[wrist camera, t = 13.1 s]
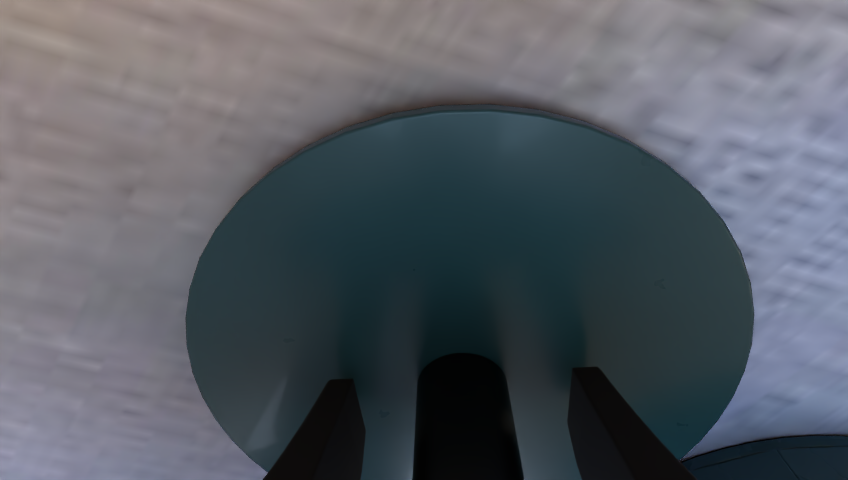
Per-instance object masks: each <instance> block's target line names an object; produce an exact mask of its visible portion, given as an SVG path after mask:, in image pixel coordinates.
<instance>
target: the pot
mask: <svg viewBox="0 0 848 480" xmlns="http://www.w3.org/2000/svg"><path fill="white" fill-rule="evenodd" d="M682 464H683V465H684V466H685V467H686V468H687V469H688V470H689V471H690V472H691V473H692V474H693V475H694V476H695V477H696V478H697V479H698V480H848V436H802V437H789V438H779V439H772V440H766V441H759V442H752V443H748V444H744V445H739V446H735V447H730V448H726V449H722V450H719V451H715V452H712V453H709V454H705V455H702V456H699V457H696V458H693V459H690V460H688V461H685V462H683V463H682Z"/></svg>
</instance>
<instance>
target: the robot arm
mask: <svg viewBox="0 0 848 480" xmlns="http://www.w3.org/2000/svg"><path fill="white" fill-rule="evenodd" d="M567 424H568V429H569V433H570V438H571V442H572V447H573V451H574V455H575V459H576V463H577V466H578V469H579V472H580V475H581V478H582V480H698V479H697V478H696V477H695V476H694V475H693V474H692V473H691V472H690V471H689V470H688V469H687V468H686V467H685V466H684V465H683V464H682V463H681V462H680V461H679V460H678V459H677V458H676V457H675V456H674V455H673V454H672V453H671V452H670V451H669V449H668V448H667V447H666V446H665V445H664V444H663V443H662V442H661V441H660V440H659V438H658V437H657V436H656V435H655V434H654V433H653V432H652V431H651V430H650V428H649V427H648V426H647V425H646V424H645V423H644V422H643V421H642V419H641V418H640V417H639V416H638V415H637V414H636V412H635V411H634V410H633V409H632V408H631V406H630V405H629V404H628V403H627V402H626V400H625V399H624V398H623V397H622V396H621V394H620V393H619V392H618V391H617V389H616V388H615V387H614V386H613V384H612V383H611V382H610V381H609V379H608V378H607V377H606V375H605V374H604V373H603V371H602V370H601V369H600V368H598V367H597V366H596V367H576V368H572V376H571V386H570V397H569V407H568V418H567ZM365 434H366V429H365V425H364V421H363V417H362V413H361V409H360V405H359V401H358V397H357V392H356V388H355V384H354V380H353V378H351V379H331V380H329V381H328V382H327V383H326V385H325V387H324V388H323V390H322V392H321V394H320V395H319V397H318V399H317V400H316V402H315V403H314V405H313V407H312V408H311V410H310V412H309V413H308V415H307V416H306V418H305V419H304V421H303V423H302V424H301V426H300V427H299V429H298V430H297V432H296V433H295V435H294V436H293V438H292V439H291V441H290V442H289V444H288V445H287V447H286V448H285V450H284V451H283V453H282V454H281V455H280V457H279V458H278V460H277V461H276V463H275V464H274V465H273V467H272V468H271V469H270V471H269V472H268V473H267V475H266V476H265V477H264V479H263V480H360V479H361V474H362V466H363V456H364V445H365Z"/></svg>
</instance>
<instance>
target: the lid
mask: <svg viewBox="0 0 848 480" xmlns="http://www.w3.org/2000/svg"><path fill="white" fill-rule="evenodd" d="M753 325H754V307H753V298H752V289H751V282H750V279H749V276H748V273H747V270H746V267H745V263H744V260H743V257H742V254H741V251H740V249H739V248H738V246H737V244H736V242H735V240H734V238H733V237H732V235H731V233H730V231H729V229H728V227H727V226H726V224H725V222H724V221H723V219H722V218H721V217H720V216H719V215H718V213H717V212H716V211H715V210H714V208H713V207H712V206H711V205H710V204H709V202H708V201H707V200H706V199H705V197H704V196H703V195H702V194H701V193H700V192H699V191H698V190H697V189H696V188H695V187H693V186H692V185H691V184H690V183H689V182H687V181H686V180H685V179H684V178H683V177H682V176H680V175H679V174H678V173H677V172H676V171H675V170H673V169H672V168H671V167H670V166H669V165H667V164H666V163H665V162H663V161H662V160H660V159H659V158H657V157H656V156H654V155H652V154H651V153H649V152H647V151H646V150H644V149H642V148H641V147H639V146H637V145H636V144H634V143H632V142H631V141H629V140H627V139H626V138H624V137H621V136H619V135H616V134H614V133H611V132H609V131H607V130H604V129H602V128H599V127H597V126H594V125H592V124H590V123H587V122H585V121H582V120H578V119H574V118H570V117H566V116H562V115H558V114H554V113H550V112H546V111H542V110H538V109H529V108H520V107H511V106H502V105H493V104H477V105H440V106H434V107H428V108H421V109H415V110H409V111H403V112H396V113H392V114H388V115H385V116H382V117H378V118H375V119H372V120H368V121H365V122H362V123H358V124H355V125H352V126H349V127H346V128H344V129H342V130H340V131H338V132H336V133H333V134H331V135H329V136H327V137H325V138H323V139H320V140H318V141H316V142H314V143H312V144H310V145H308V146H306V147H305V148H303V149H302V150H300V151H299V152H297V153H296V154H294V155H292V156H291V157H289V158H288V159H286V160H285V161H283V162H282V163H280V164H279V165H277V166H276V167H274V168H273V169H272V170H271V171H270V172H268V173H267V174H266V175H265V176H264V177H263V178H262V179H261V180H260V181H258V182H257V183H256V184H255V185H254V186H253V187H252V188H251V189H249V190H248V191H247V192H246V193H245V194H244V195H243V196H242V197H241V198H240V199H239V200H238V202H237V203H236V204H235V205H234V207H233V208H232V209H231V210H230V212H229V213H228V214H227V215H226V217H225V218H224V219H223V220H222V222H221V223H220V224H219V225H218V227H217V228H216V229H215V231H214V233H213V235H212V236H211V238H210V240H209V242H208V244H207V246H206V247H205V249H204V251H203V253H202V255H201V257H200V258H199V261H198V264H197V267H196V270H195V273H194V276H193V279H192V282H191V285H190V289H189V297H188V304H187V311H186V340H187V349H188V354H189V358H190V363H191V367H192V372H193V375H194V377H195V380H196V382H197V385H198V387H199V390H200V392H201V395H202V397H203V399H204V400H205V402H206V404H207V406H208V407H209V409H210V411H211V412H212V414H213V416H214V418H215V419H216V421H217V422H218V423H219V424H220V426H221V427H222V428H223V430H224V431H225V432H226V433H227V435H228V436H229V437H230V438H231V440H232V441H233V442H234V443H235V444H236V445H237V446H238V447H239V448H240V449H241V450H242V451H243V452H244V453H245V454H246V455H247V456H248V457H249V458H250V459H252V460H253V461H254V462H255V463H257V464H258V465H259V466H260V467H262V468H263V469H264V470H265V471H267V472H269V471H270V469H271V468H272V467H273V465H274V464H275V463H276V461H277V460H278V458H279V457H280V455H281V454H282V453H283V451H284V450H285V448H286V447H287V445H288V444H289V442H290V441H291V439H292V438H293V436H294V435H295V433H296V432H297V430H298V429H299V427H300V426H301V424H302V423H303V421H304V419H305V418H306V416H307V415H308V413H309V412H310V410H311V408H312V407H313V405H314V403H315V402H316V400H317V399H318V397H319V395H320V394H321V392H322V390H323V388H324V387H325V385H326V383H327V382H328V381H329V380H331V379H351V378H353V380H354V384H355V388H356V392H357V397H358V401H359V405H360V409H361V413H362V417H363V421H364V425H365V429H366V434H365V445H364V456H363V466H362V474H361V479H360V480H582V478H581V475H580V472H579V469H578V466H577V463H576V459H575V455H574V451H573V447H572V442H571V438H570V433H569V429H568V424H567V418H568V407H569V397H570V386H571V376H572V368H576V367H596V366H597V367H598V368H600V369H601V370H602V371H603V373H604V374H605V375H606V377H607V378H608V379H609V381H610V382H611V383H612V384H613V386H614V387H615V388H616V389H617V391H618V392H619V393H620V394H621V396H622V397H623V398H624V399H625V400H626V402H627V403H628V404H629V405H630V406H631V408H632V409H633V410H634V411H635V412H636V414H637V415H638V416H639V417H640V418H641V419H642V421H643V422H644V423H645V424H646V425H647V426H648V427H649V428H650V430H651V431H652V432H653V433H654V434H655V435H656V436H657V437H658V438H659V440H660V441H661V442H662V443H663V444H664V445H665V446H666V447H667V448H668V449H669V451H670V452H671V453H672V454H673V455H674V456H675V457H676V458H677V459H678V460H680V459H681V458H682V457H684V456H685V455H686V454H687V453H688V452H689V451H690V450H691V449H692V448H693V447H694V446H696V445H697V444H698V443H699V442H700V441H701V440H702V438H703V437H704V436H705V435H706V434H707V433H708V431H709V430H710V429H711V428H712V427H713V426H714V424H715V423H716V422H717V421H718V419H719V418H720V416H721V415H722V413H723V412H724V410H725V409H726V407H727V405H728V404H729V402H730V401H731V399H732V398H733V396H734V394H735V391H736V389H737V387H738V385H739V383H740V380H741V378H742V376H743V374H744V372H745V368H746V364H747V360H748V357H749V353H750V349H751V345H752V337H753Z"/></svg>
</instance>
